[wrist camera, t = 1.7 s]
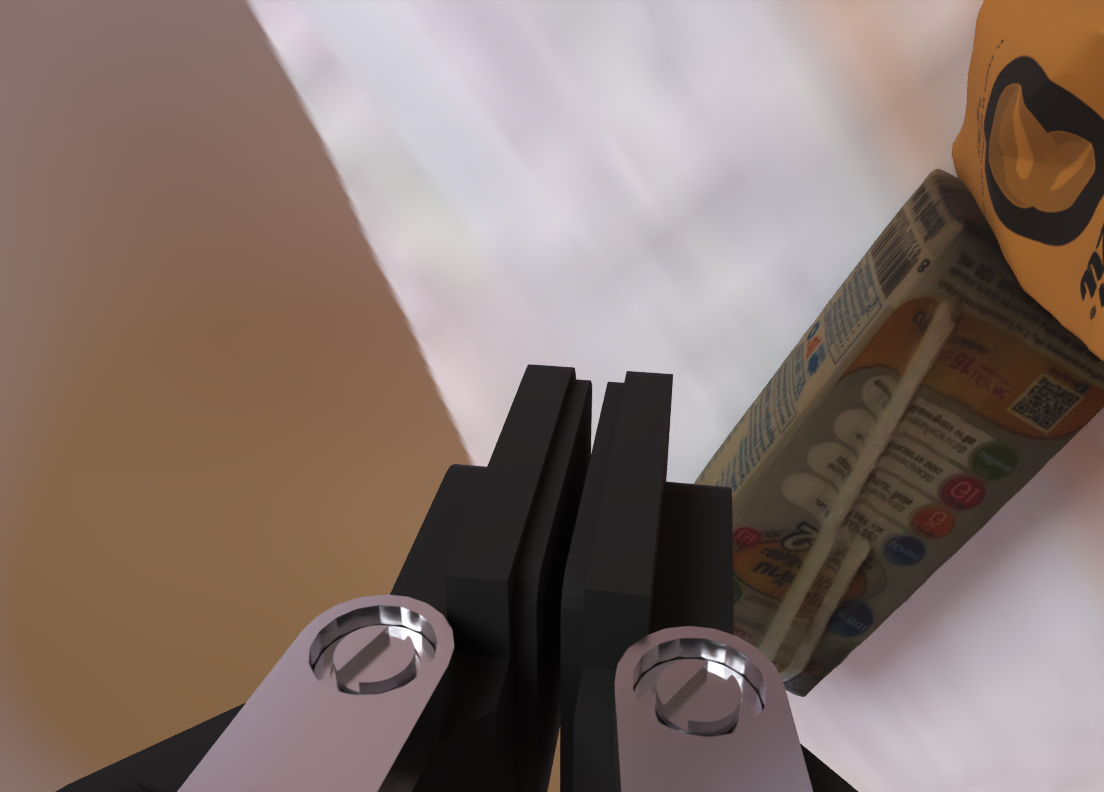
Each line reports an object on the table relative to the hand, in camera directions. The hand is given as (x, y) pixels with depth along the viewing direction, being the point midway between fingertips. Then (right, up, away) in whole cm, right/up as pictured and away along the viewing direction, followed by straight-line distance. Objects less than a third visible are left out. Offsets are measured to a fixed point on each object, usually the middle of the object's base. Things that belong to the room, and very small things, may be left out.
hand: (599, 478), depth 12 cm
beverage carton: (+12, 0, +27) cm, 29 cm away
